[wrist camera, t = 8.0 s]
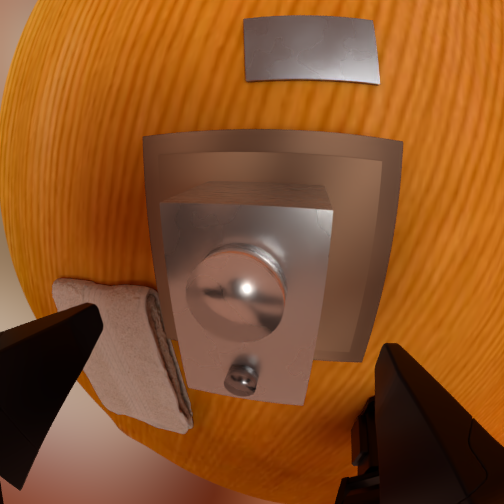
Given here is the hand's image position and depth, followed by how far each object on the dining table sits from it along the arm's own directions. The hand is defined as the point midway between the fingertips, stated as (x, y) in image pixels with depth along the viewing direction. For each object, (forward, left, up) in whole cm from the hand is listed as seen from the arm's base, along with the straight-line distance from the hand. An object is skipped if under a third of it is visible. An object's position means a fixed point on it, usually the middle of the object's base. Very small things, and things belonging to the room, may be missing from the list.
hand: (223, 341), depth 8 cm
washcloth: (+13, +13, -10) cm, 21 cm away
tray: (0, 0, -9) cm, 9 cm away
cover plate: (-2, -11, -10) cm, 15 cm away
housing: (0, +1, -6) cm, 6 cm away
